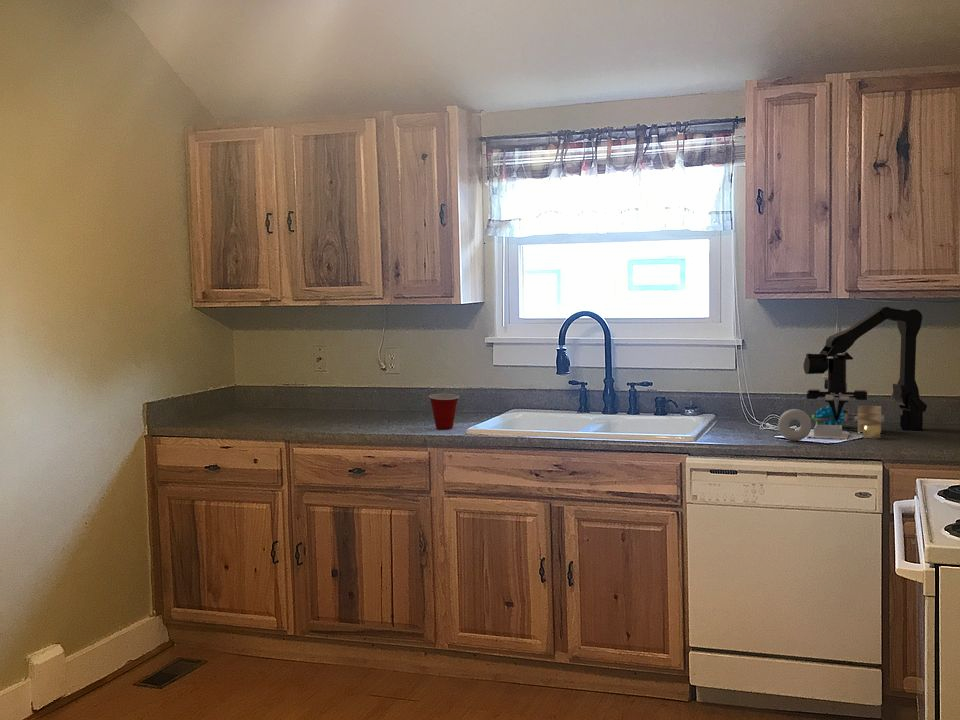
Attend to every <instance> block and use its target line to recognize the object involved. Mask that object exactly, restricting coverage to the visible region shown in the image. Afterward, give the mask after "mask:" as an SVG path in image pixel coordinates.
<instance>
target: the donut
mask: <svg viewBox="0 0 960 720" xmlns="http://www.w3.org/2000/svg"><path fill="white" fill-rule="evenodd" d="M794 420H795V421H797V422H798V423H800V426H799V428H798V429H792V428H791V426H790V423H791V422H792V421H794ZM812 427H813V426H812V418H810V416H809V414H808V413H807V412H805V411H803V410H801V409H797V408H792V409H788V410H785V411H784V412H783V413H782V414H781V415H780V417H779V418H778V422H777V428H778V431H779V433H780V435H782V437H784V438H785V439H787V440H788V441H792V442H796V441H802V440H803V439H805V438H807V435H808V434H809V433H810V431H812Z"/></svg>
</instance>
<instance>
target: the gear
mask: <svg viewBox="0 0 960 720" xmlns="http://www.w3.org/2000/svg"><path fill="white" fill-rule="evenodd" d="M836 410H837V411H838V405H836ZM844 410H845V409H843V408H842V410H841V413H840V416H839V420H838V421H836V420H835V417H834V414H833V411H832V409H831V407H830V405H827V406H826V408H824V407H820V408H819V410H816V412H815V413H816V414H812V415H811V420H814V422H815V425H819V423H821V424H822V423H823V425H836V424H837V425H841V424H842V422H844Z"/></svg>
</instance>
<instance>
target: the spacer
mask: <svg viewBox="0 0 960 720" xmlns="http://www.w3.org/2000/svg"><path fill="white" fill-rule="evenodd" d="M862 434H863V435H862V436H863V437H865V438H864V439H866V438H880V439H881V434H880V425H874V424H866V425H863V433H862ZM863 437H862V438H863Z"/></svg>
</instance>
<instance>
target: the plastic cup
mask: <svg viewBox="0 0 960 720" xmlns="http://www.w3.org/2000/svg"><path fill="white" fill-rule="evenodd" d="M428 398H429V400H430V403H431V408H432V414H433V419H434V425H435V428H436V430H441V431H442V430H452V429H453V428H454V423H455V422H454V421H455V418H456V417H455V416H456V410H457V404H458V401H459V398H460V395H458V394H455V393H432V394H429V395H428Z"/></svg>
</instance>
